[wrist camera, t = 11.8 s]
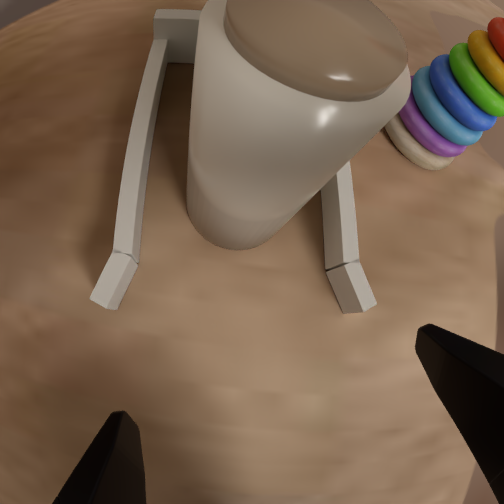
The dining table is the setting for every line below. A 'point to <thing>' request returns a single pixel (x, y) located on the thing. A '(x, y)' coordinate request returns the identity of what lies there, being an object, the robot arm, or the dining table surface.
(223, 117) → the cream jar
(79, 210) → the dining table surface
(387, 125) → the stacking toy
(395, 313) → the dining table surface
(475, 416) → the robot arm
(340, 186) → the white u-shaped frame
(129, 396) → the dining table surface
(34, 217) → the dining table surface
